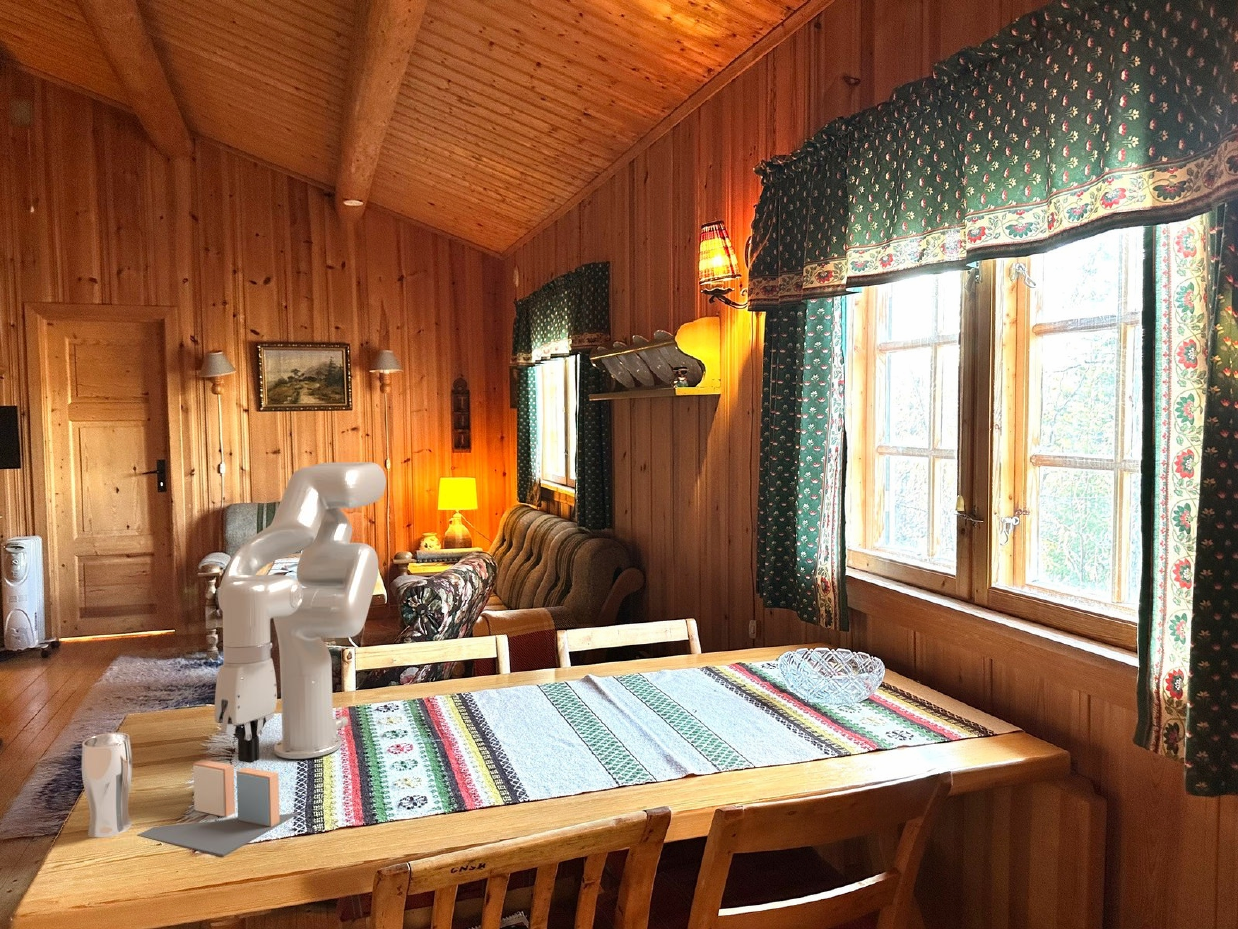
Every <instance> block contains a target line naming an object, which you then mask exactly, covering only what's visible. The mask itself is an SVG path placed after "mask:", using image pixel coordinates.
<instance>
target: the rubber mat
mask: <svg viewBox="0 0 1238 929" xmlns="http://www.w3.org/2000/svg"><path fill="white" fill-rule="evenodd" d="M299 814H300V812H297V813H296V812H295V813H286V814H280V822H279V823H278V824H276V825H274V826H272V827H270V826H265V825H260V824H255V823H250V822H246V821H241V820H238V818H233V819H224V820H223V819H222V820H213V821H201V822H194V823H193V822H192V823H183V824H182V823H181V824H173V825H172V824H171V825H162V826H153V827H151V828H149V829H147V830H145V831H143V832H140V833H138V834H137V836H138V837H141V838H146V839H150V840H154V841H158V842H163V843H165V844H170V845H174V846H178V847H181V848H182V847H183V848H186V849H189V850H194V851H197V852H202V853H205V854H209V855H212V856H213V855H214V856H217V857H221V858H225V857H226V856H228V855H229V854H232V853H234V852H235V851H236V850H238V849H240V848H242V847H245V845H247V844H249V843H250V842H253V841H254V840H256V839H258V838H259V837H261V836H263V835H264V834H266V833H268V832H270V831H271V830H273V829H275V828H276V827H277V828H278V826H280V825H282V824H284V823H286V822H287V821H289V820H291V819H292V818H294V817H296V816H297V815H299Z"/></svg>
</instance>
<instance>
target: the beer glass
mask: <svg viewBox="0 0 1238 929" xmlns="http://www.w3.org/2000/svg"><path fill="white" fill-rule="evenodd" d="M81 746H82V748H81V775H82V777H81V778H82V783H83V787H84V788H83V789H84V792H85V796H86V800H87V803H88V808H89V818H90V819H89V825H88V832H87V836H88V837H90V838H108V837H114V836H117V835H120V834H122V833H124V832H126V831H128V830H130V828H131V827H132V822H131V817H130V813H129V799H130V798H129V797H130V790H131V783H132V778H133V777H132V774H133V756H132V755H133V753H132V746H131V739H130V734H128V733H125V732H118V731H117V732H106V733H102V734H97V735H93V736H91V737H88V738H86V739H85V740H84V741H83V742H82V744H81Z"/></svg>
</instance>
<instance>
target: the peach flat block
mask: <svg viewBox="0 0 1238 929" xmlns="http://www.w3.org/2000/svg"><path fill="white" fill-rule="evenodd" d="M279 782H280V781H279V772H274V771H269V770H263V769H257V768H251V767H246V766H245V767H242V768H240V769H238V770H236V795H237V798H236V800H237V802H236V803H237V819H238V820H241V821H246V822H250V823H255V824H260V825H265V826H270V827H272V826H274V825H276V824H278V823H279V822H280V815H281V814H280V785H279V784H280V783H279Z"/></svg>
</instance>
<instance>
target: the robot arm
mask: <svg viewBox="0 0 1238 929" xmlns="http://www.w3.org/2000/svg"><path fill="white" fill-rule="evenodd" d="M386 484H387V479H386V475H385V472H384V470H383V468H382V467H381V466H380V464H377V463H375V462H370V461H369V462H367V461H365V462H362V461H361V462H357V461H356V462H349V461H348V462H339V461H338V462H321V463H316V464H314V465H311V466H304V467H300V468H299V469H297V470H295V471H294V472H293V474H291V476H290V478H289V481H288V482H287V485H286V488H285V490H284V493H283V495H282V498H281V500H280V503H279V504H278V507H277V509H276V512H275V514H274V517H273V519H272V522H271V524H270V525H268V526H267V527H265V528H264V529H262V530H261V531H260V532H258V533H257V534H255V535H254V536H253V537H252V538H250V539H249V540H247V542H246V543H244V544H243V545H242V546H241V547H239V549H238V550H237V551H236V552H235V553H234V555H232V557H231V559H230V561H229V563H228V564H227V568H226V570H225V572H224V573H223V577H222V580H221V583H220V585H219V589H218V595H217V596H218V597H217V599H218V605H219V607H220V609H221V611H222V639H223V640H222V641H223V642H222V644H223V645H222V649H223V650H222V651H223V653H222V654H223V659H222V660H223V664H221V665H219V667H218V668H219V669H218V673H217V677H216V678H217V679H216V683H215V684H216V685H215V694H214V720H215V723H217V724H221V729H220V733H221V734H224V735H232V736H233V737H234V738H235V739H236V740H237V760H238V761H239V762H243V763H246V764H247V763H249V764H252V763H254V762H257V761H259V760H260V737H261V736H262V734H263V729H264V726H265V725H266V723H268V722H269V721H271V720H272V719H273V718H274V716H275V713H274V712H275V711H276V710H277V705H278V691H277V678H276V671H275V666H274V661H273V658H272V657H271V654H272V653H271V649H272V648H273V643H272V642H271V619H273V624H274V627H275V631H276V632H275V633H276V636H277V641H278V642H277V643H278V648H279V649H278V650H279V665H280V666H279V667H280V668H279V669H280V674H279V675H280V700H281V701H280V703H281V734H282V735H281V736H282V739H281V740H279V741H277V742H276V743H275V744H274V746H273V752H274V754H275V755H276V756H278V757H280V758H284V759H293V760H302V759H303V760H304V759H311V758H317V757H322V756H325V755H328V754H331V753H333V752H335V751H337V750H339V749H340V748H341V747H342V744H343V743H342V742H343V740H342V737H341V736H340V735H338V734H337V732H338V731H339V729H341V728H344V727H346V726H348V724H349V719H348V717H347V716H344V715H343V716H341V717H339V718H337V719H335V718H334V715H333V714H334V711H333V710H334V709H333V705H334V704H333V678H332V677H333V674H332V673H333V671H332V670H333V669H332V668H333V667H332V665H333V664H332V657H331V656H332V655H331V653H330V651H329V648H328V647H327V645H326V643H325V642H324V641H323V639H322V638H329V639H330V638H332V639H333V638H335V639H336V638H337V639H338V638H344V639H345V638H352V637H355V636H357V635H359V633H361V631H362V630H363V628H364V625H365V623H366V620H367V616H368V613H369V609H370V607H371V602H372V599H373V596H374V592H375V588H376V585H377V580H378V576H379V558H378V554H377V552H376V550H375V549H374V548H373V547H372V546H370V545H369V544H367V543H364V542H363V543H362V542H351V539H352V536H353V526H352V524H351V522H350V520H349V519H348V517H347V515H346V514H345V513H344V512H343V511H342V510H341V509H357V508H363V507H366V506H369V505H371V504H374V503H377V502H378V501H379V500H380V499H381V498H382V497H383V495H384V493H385V490H386V486H387V485H386ZM300 551H301V554H300V557H299V560H298V562H297V567H296V578H295V577H292V576H290V575H286V574H285V575H283V574H257V573H258V572H259V571H260V570H262V569H263V568H264V567H266V566H267V565H269V564H271V563H273V562H275V561H277V560H280V559H283V558H285V557H288V556H291V555H292V554H293V555H294V554H296V553H298V552H300Z"/></svg>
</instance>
